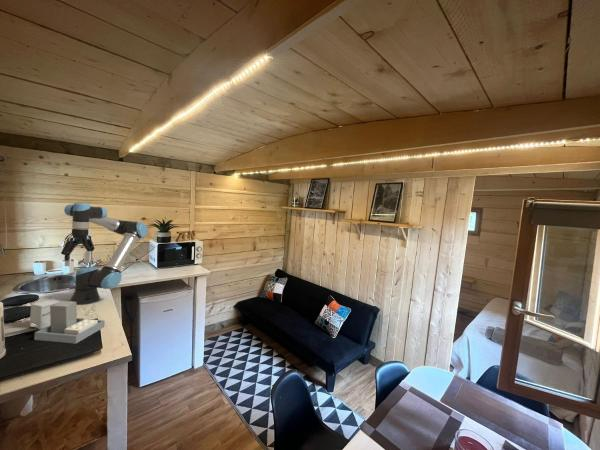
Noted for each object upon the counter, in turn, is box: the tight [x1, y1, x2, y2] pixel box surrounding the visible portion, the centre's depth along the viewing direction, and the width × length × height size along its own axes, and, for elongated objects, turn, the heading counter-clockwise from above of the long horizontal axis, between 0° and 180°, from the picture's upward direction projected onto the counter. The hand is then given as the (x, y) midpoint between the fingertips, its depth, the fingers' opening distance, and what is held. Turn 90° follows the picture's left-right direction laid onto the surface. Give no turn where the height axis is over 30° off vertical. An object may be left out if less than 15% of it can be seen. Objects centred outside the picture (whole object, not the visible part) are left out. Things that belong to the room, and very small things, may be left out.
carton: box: [64, 318, 99, 335], centre depth 130 cm, size 12×7×6 cm, turn 1°
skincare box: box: [50, 300, 78, 334], centre depth 130 cm, size 8×7×16 cm
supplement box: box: [29, 300, 58, 330], centre depth 136 cm, size 7×7×13 cm
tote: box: [33, 317, 105, 345], centre depth 130 cm, size 18×20×4 cm
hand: (78, 263), depth 150 cm, fingers open, 13 cm apart
